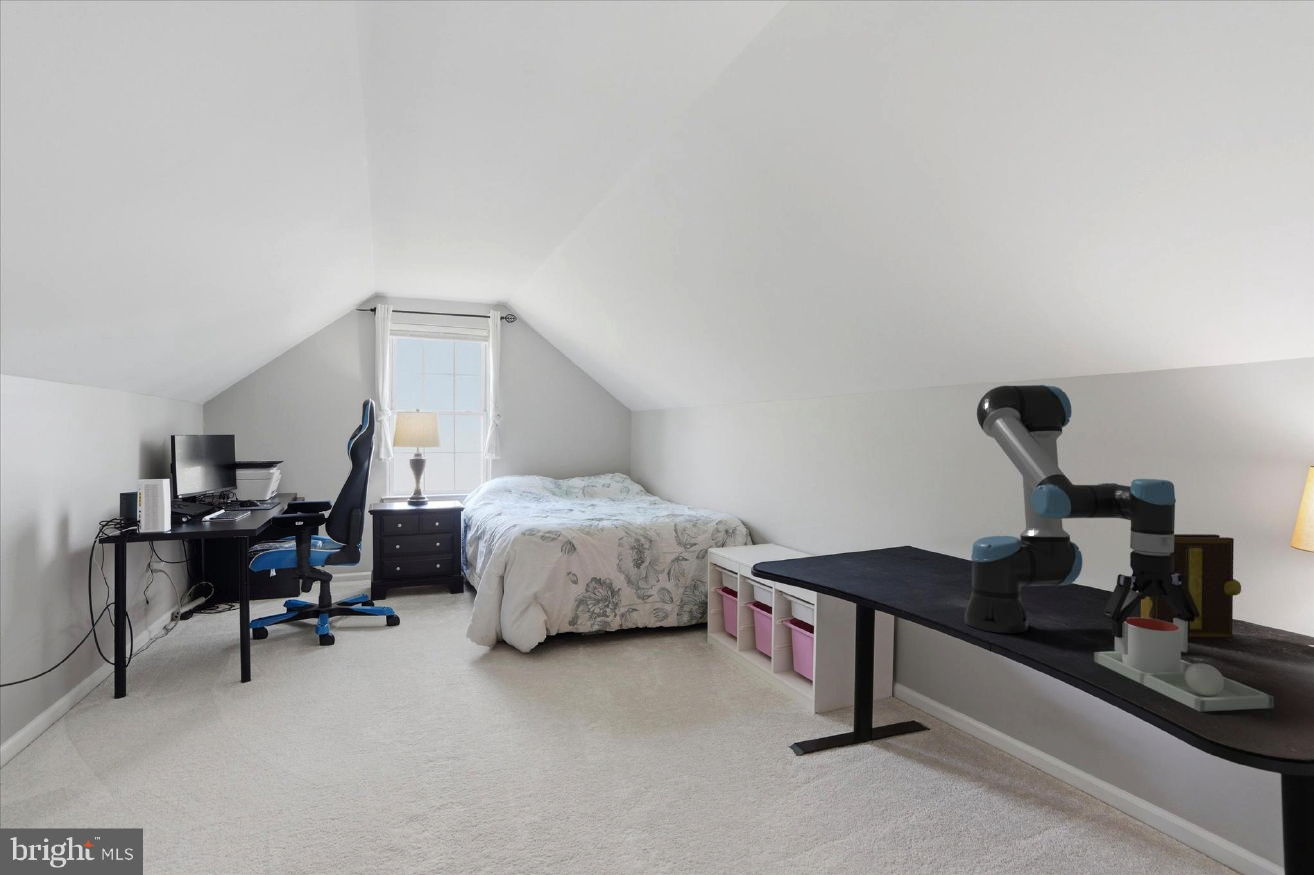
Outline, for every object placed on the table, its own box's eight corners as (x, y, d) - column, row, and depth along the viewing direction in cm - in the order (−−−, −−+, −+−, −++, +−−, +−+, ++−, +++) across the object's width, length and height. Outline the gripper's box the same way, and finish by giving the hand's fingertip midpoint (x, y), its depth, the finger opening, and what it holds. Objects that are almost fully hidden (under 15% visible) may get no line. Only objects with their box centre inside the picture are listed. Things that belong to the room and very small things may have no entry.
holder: (1094, 666, 149) (1094, 652, 149) (1156, 663, 150) (1156, 649, 150) (1199, 717, 123) (1199, 700, 123) (1273, 713, 124) (1273, 696, 124)
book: (1156, 637, 168) (1157, 538, 167) (1134, 627, 177) (1135, 533, 176) (1248, 639, 167) (1249, 539, 166) (1221, 628, 175) (1222, 533, 175)
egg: (1176, 689, 133) (1176, 659, 133) (1203, 687, 134) (1204, 657, 133) (1203, 701, 127) (1204, 670, 127) (1232, 700, 128) (1232, 669, 127)
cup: (1156, 661, 148) (1156, 617, 148) (1192, 679, 138) (1193, 631, 138) (1111, 662, 148) (1111, 617, 148) (1144, 679, 138) (1145, 631, 138)
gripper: (1110, 557, 137) (1109, 659, 138) (1222, 554, 140) (1220, 654, 140) (1084, 550, 145) (1083, 647, 145) (1190, 547, 147) (1188, 643, 148)
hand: (1150, 651), depth 143 cm, fingers open, 13 cm apart
